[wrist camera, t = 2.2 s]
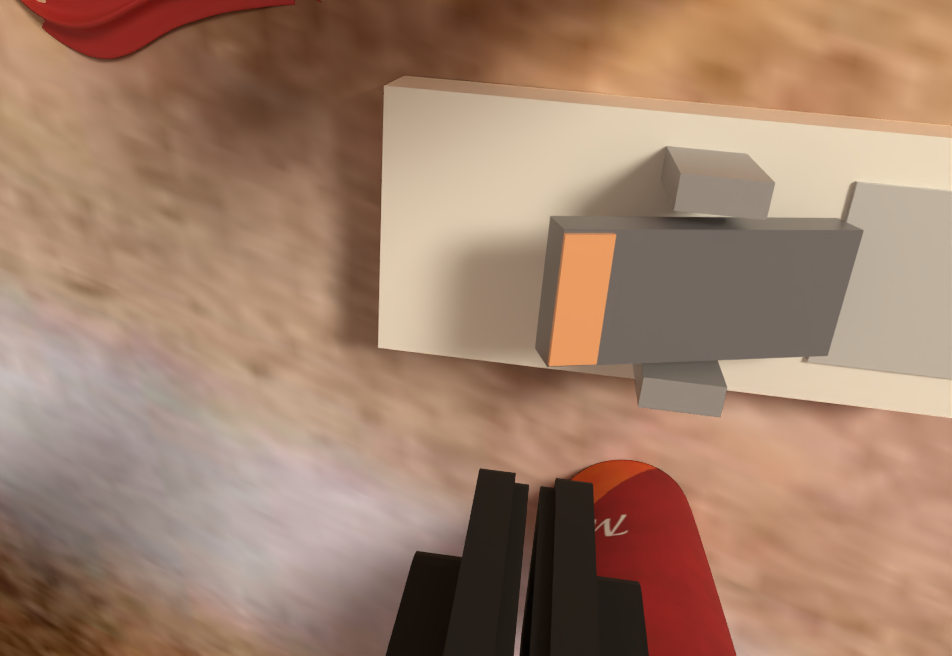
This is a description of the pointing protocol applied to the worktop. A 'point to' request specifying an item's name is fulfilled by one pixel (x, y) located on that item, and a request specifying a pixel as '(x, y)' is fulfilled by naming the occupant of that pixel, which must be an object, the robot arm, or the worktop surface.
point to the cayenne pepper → (127, 20)
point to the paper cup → (657, 557)
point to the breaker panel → (661, 195)
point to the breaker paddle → (691, 288)
